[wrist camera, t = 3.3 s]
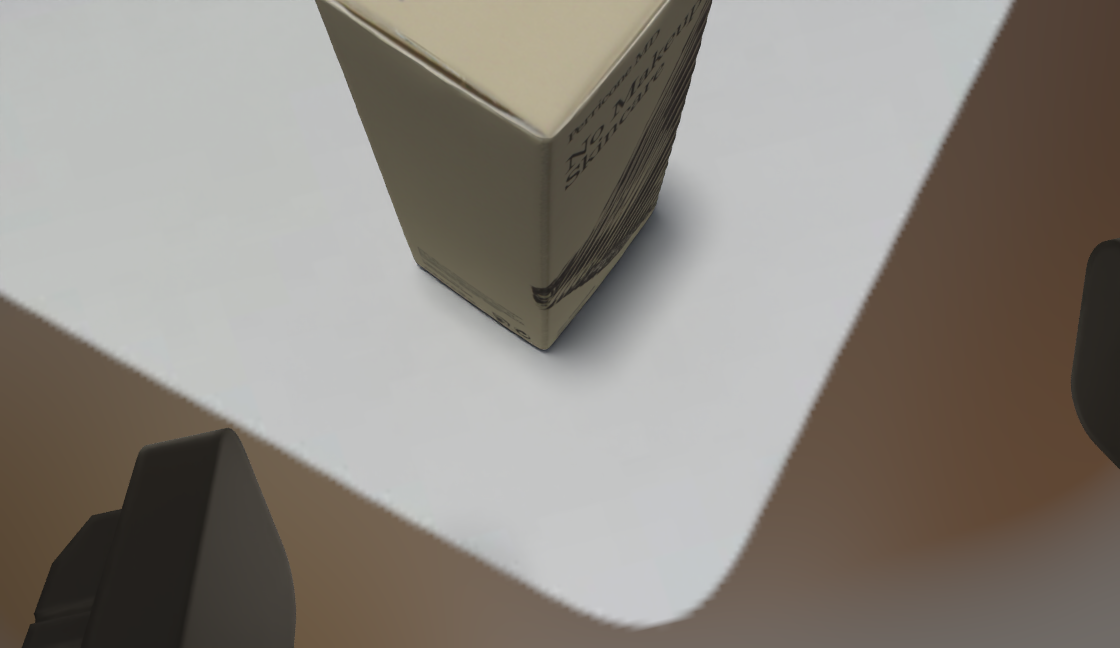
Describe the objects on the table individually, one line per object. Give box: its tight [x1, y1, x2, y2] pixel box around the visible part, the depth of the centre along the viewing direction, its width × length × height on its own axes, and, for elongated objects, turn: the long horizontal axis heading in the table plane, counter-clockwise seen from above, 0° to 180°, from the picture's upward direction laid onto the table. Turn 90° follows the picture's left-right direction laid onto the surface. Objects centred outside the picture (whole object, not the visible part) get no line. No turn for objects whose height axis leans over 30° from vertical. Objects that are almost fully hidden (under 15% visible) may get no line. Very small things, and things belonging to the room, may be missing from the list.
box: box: [315, 0, 712, 349], centre depth 21 cm, size 5×4×13 cm
